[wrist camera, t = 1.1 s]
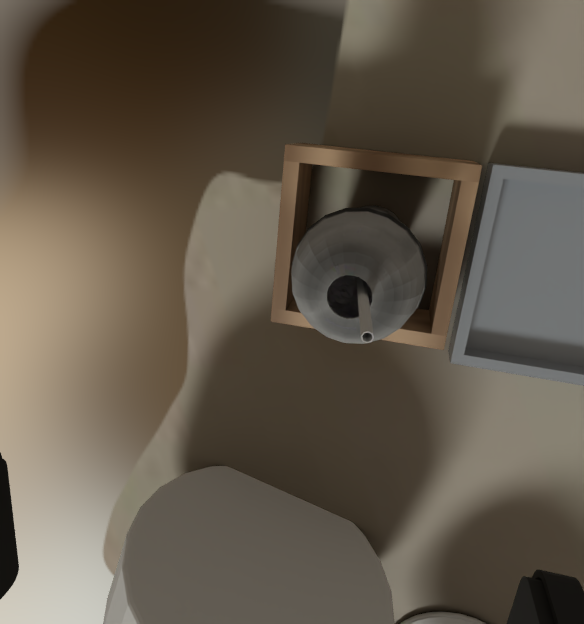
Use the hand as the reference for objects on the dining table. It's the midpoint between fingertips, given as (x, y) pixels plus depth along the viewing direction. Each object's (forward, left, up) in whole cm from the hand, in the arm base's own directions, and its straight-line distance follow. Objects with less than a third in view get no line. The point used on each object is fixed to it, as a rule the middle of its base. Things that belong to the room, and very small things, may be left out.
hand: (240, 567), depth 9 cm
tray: (-14, +1, -32) cm, 35 cm away
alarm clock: (+5, +28, -32) cm, 43 cm away
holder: (0, 0, -32) cm, 32 cm away
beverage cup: (0, 0, -32) cm, 32 cm away
